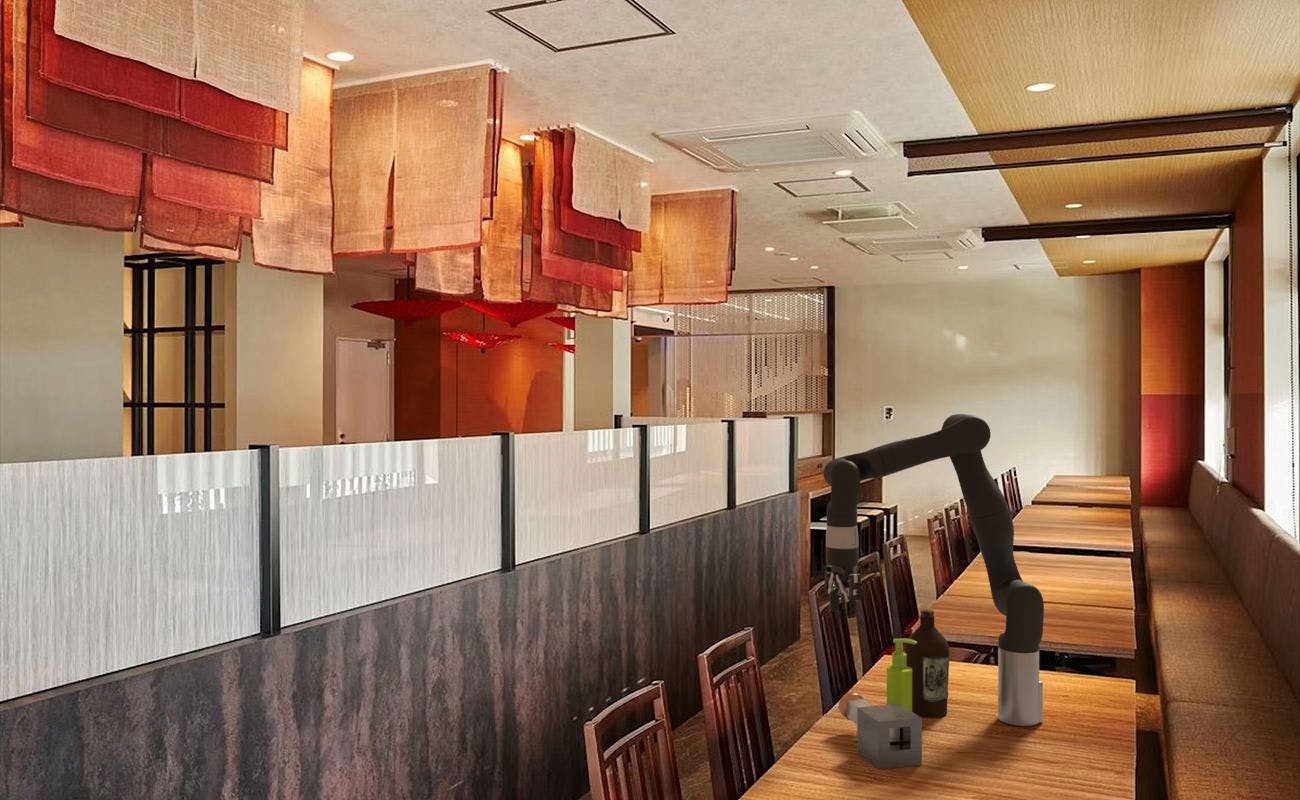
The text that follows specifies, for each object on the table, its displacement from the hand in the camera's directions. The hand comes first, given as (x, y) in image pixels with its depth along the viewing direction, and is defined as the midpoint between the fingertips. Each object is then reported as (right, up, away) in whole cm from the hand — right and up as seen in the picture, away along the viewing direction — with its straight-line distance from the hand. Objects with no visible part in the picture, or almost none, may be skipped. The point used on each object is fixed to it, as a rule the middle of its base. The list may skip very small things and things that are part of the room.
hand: (842, 613), depth 243 cm
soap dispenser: (+15, -27, +3) cm, 31 cm away
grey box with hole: (+6, -27, -21) cm, 34 cm away
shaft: (+4, -24, -12) cm, 27 cm away
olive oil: (+23, -27, +11) cm, 37 cm away
